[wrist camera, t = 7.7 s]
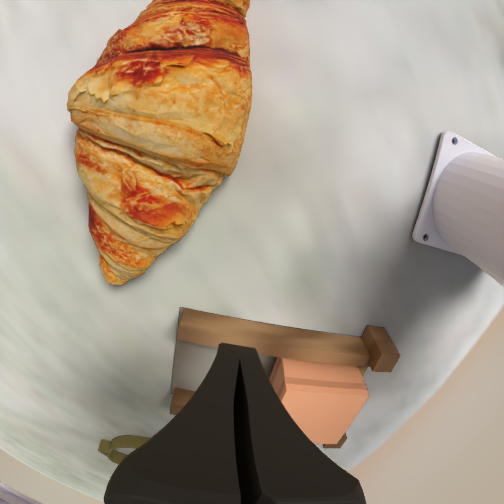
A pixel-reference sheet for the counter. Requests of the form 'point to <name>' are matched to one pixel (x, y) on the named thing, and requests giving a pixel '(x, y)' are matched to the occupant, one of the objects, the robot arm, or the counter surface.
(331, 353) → the brown wooden frame
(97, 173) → the croissant
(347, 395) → the peach rectangular block
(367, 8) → the counter surface
